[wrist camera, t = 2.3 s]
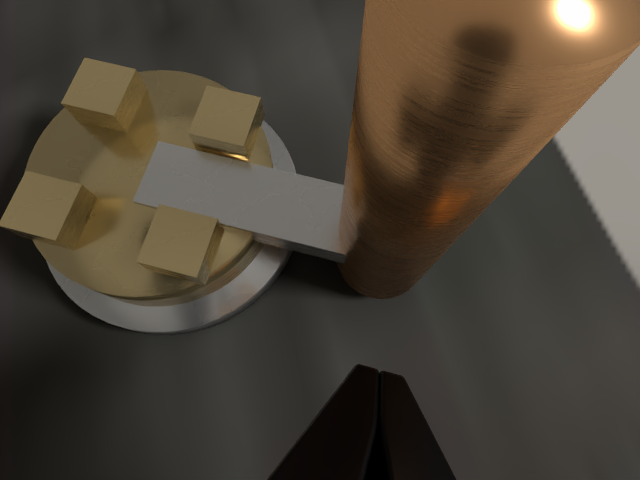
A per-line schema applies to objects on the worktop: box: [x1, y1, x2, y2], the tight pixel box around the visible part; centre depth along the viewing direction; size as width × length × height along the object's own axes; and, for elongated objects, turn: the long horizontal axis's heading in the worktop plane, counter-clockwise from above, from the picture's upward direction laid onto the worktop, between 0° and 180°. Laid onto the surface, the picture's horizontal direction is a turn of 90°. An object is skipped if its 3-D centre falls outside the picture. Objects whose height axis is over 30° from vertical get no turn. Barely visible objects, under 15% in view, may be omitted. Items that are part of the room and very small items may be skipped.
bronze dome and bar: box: [0, 0, 640, 307], centre depth 11 cm, size 14×8×12 cm, turn 75°
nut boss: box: [46, 121, 296, 335], centre depth 17 cm, size 10×10×1 cm
